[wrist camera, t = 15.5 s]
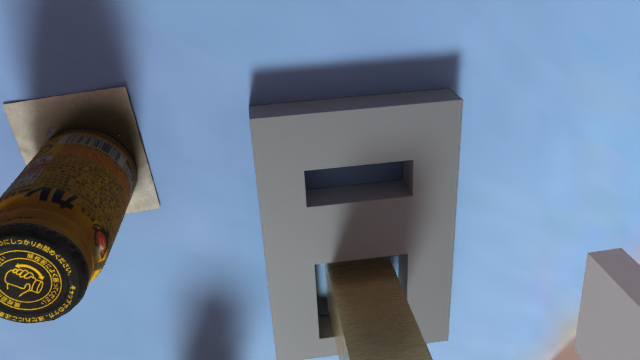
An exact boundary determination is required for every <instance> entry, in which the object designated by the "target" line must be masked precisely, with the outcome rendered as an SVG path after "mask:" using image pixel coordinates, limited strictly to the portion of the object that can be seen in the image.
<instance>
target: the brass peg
mask: <svg viewBox="0 0 640 360" xmlns="http://www.w3.org/2000/svg"><path fill="white" fill-rule="evenodd" d="M325 275H326V292H327V306H328V310H329V315H330V319H331V324H332V329H333V333H334V338H335V342H336V347H337V351H338V356H339V360H433V359H432V357H431V355H430V352H429V350H428V348H427V345H426V343H425V341H424V338H423V336H422V334H421V331H420V329H419V327H418V324H417V322H416V319H415V317H414V315H413V312H412V310H411V308H410V305H409V303H408V301H407V298H406V296H405V294H404V291H403V289H402V287H401V284H400V282H399V280H398V277H397V275H396V273H395V270H394V268H393V266H392V263H391V261H390V259H389V256H385V257H376V258H367V259H359V260H350V261H342V262H333V263H325Z"/></svg>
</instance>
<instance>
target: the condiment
mask: <svg viewBox="0 0 640 360" xmlns="http://www.w3.org/2000/svg"><path fill="white" fill-rule="evenodd" d="M3 107H4V110H5V112H6V116H7V118H8V121H9V123H10V125H11V128H12V130H13V134H14V137H15V139H16V141H17V143H18V146H19V149H20V152H21V154H22V156H23V159H24V161H25V163H26V167H25V168H24V170H23V171H22V172H21V173H20V175H19V176H18V177H17V178H16V179H15V181H14V182H13V183H12V184H11V185H10V187H9V188H8V189H7V190H6V191H5V192H4V193H3V195H2V196H1V197H0V317H1V318H4V319H7V320H10V321H15V322H21V323H37V322H44V321H51V320H55V319H57V318H59V317H60V316H62V315H64V314H66V313H68V312H69V311H70V310H71V309H72V308H74V307H75V306H76V305H77V304H78V303H79V302H80V300H81V299H82V298H83V296H84V294H85V291H86V289H87V287H88V285H89V284H90V282H91V281H92V280H93V279H94V278H96V277H97V275H98V274H99V273H100V272H101V270H102V268H103V266H104V265H105V262H106V260H107V258H108V255H109V253H110V250H111V248H112V245H113V242H114V240H115V238H116V235H117V233H118V230H119V228H120V225H121V222H122V220H123V218H124V215H125V213H133V212H140V211H147V210H153V209H158V208H160V205H159V201H158V198H157V194H156V190H155V187H154V183H153V180H152V177H151V172H150V169H149V165H148V163H147V158H146V155H145V152H144V148H143V145H142V143H141V139H140V136H139V132H138V128H137V125H136V121H135V117H134V114H133V111H132V108H131V105H130V101H129V98H128V94H127V91H126V87H118V88H109V89H102V90H95V91H89V92H80V93H74V94H67V95H61V96H52V97H48V98H42V99H36V100H28V101H22V102H16V103H10V104H3ZM51 127H54V128H53V131H52V132H50V128H51ZM49 133H51V136H50V137H48V136H47V135H48V134H49ZM118 135H120V137H118Z"/></svg>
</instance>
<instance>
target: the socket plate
mask: <svg viewBox="0 0 640 360" xmlns="http://www.w3.org/2000/svg"><path fill="white" fill-rule="evenodd" d="M462 106H463V99H462V98H460V97H459V96H458V95H457V94H456V93H454V92H453V91H452V90H451V89H450V88H445V89H434V90H423V91H411V92H400V93H389V94H378V95H367V96H355V97H344V98H333V99H322V100H311V101H300V102H288V103H277V104H266V105H255V106H249V119H250V128H251V137H252V146H253V155H254V164H255V172H256V181H257V190H258V199H259V208H260V217H261V226H262V235H263V244H264V252H265V261H266V270H267V279H268V288H269V297H270V306H271V315H272V324H273V333H274V341H275V350H276V359H277V360H303V359H311V358H319V357H326V356H334V355H338V351H337V347H336V342H335V338H334V333H333V329H332V324H331V319H330V315H326V316H318V311H317V296H316V281H315V266H314V265H316V264H324V263H333V262H342V261H350V260H359V259H367V258H376V257H385V256H393V255H399V271H398V280H399V282H400V284H401V287H402V289H403V291H404V294H405V296H406V298H407V301H408V303H409V305H410V308H411V310H412V312H413V315H414V317H415V319H416V322H417V324H418V327H419V329H420V331H421V334H422V336H423V338H424V341H425V343H433V342H440V341H448V334H449V318H450V302H451V285H452V269H453V253H454V237H455V220H456V204H457V188H458V172H459V155H460V139H461V123H462ZM398 161H403V180H397V181H387V182H377V183H368V184H358V185H348V186H339V187H329V188H319V189H310V190H305V177H304V171H308V170H318V169H328V168H338V167H348V166H358V165H368V164H378V163H388V162H398Z"/></svg>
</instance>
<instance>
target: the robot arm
mask: <svg viewBox="0 0 640 360" xmlns="http://www.w3.org/2000/svg"><path fill="white" fill-rule="evenodd" d="M574 349H575V350H576V352H577V353H578V354H579V356H580V357H581V358H582V360H640V265H639V264H638V263H637V262H636V261H635V260H634V259H632V258H631V257H630V256H629V255H628V254H627V253H626V252H625V251H624V250H623V249H622V248H619V249H612V250H605V251H598V252H591V253H588V255H587V261H586V268H585V275H584V282H583V289H582V296H581V303H580V310H579V317H578V324H577V331H576V338H575V345H574Z"/></svg>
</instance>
